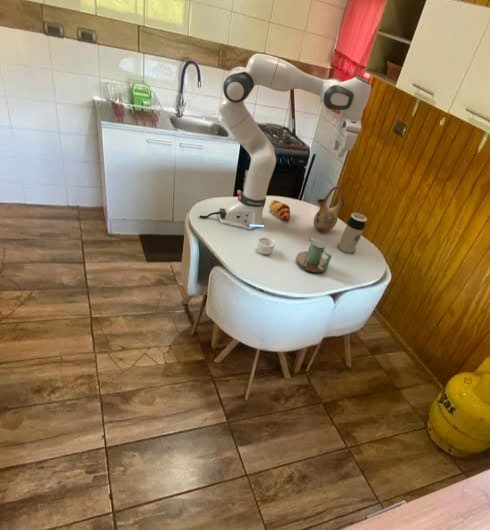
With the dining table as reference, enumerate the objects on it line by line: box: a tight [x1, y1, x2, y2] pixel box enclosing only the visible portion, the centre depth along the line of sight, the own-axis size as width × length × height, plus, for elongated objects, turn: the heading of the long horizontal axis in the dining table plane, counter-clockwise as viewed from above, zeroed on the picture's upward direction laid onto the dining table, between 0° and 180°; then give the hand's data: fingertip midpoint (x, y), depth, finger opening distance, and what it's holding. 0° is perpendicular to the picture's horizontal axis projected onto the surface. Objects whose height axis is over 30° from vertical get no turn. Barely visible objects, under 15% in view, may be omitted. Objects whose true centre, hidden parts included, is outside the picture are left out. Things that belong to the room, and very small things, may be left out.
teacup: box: [256, 236, 276, 255], centre depth 170 cm, size 10×8×5 cm
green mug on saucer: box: [295, 237, 333, 273], centre depth 164 cm, size 15×14×10 cm
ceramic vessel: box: [313, 185, 348, 233], centre depth 190 cm, size 16×9×25 cm, turn 104°
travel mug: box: [337, 212, 368, 254], centre depth 181 cm, size 8×8×18 cm
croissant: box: [269, 199, 291, 222], centre depth 202 cm, size 21×10×8 cm, turn 19°
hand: (337, 153), depth 165 cm, fingers open, 8 cm apart
